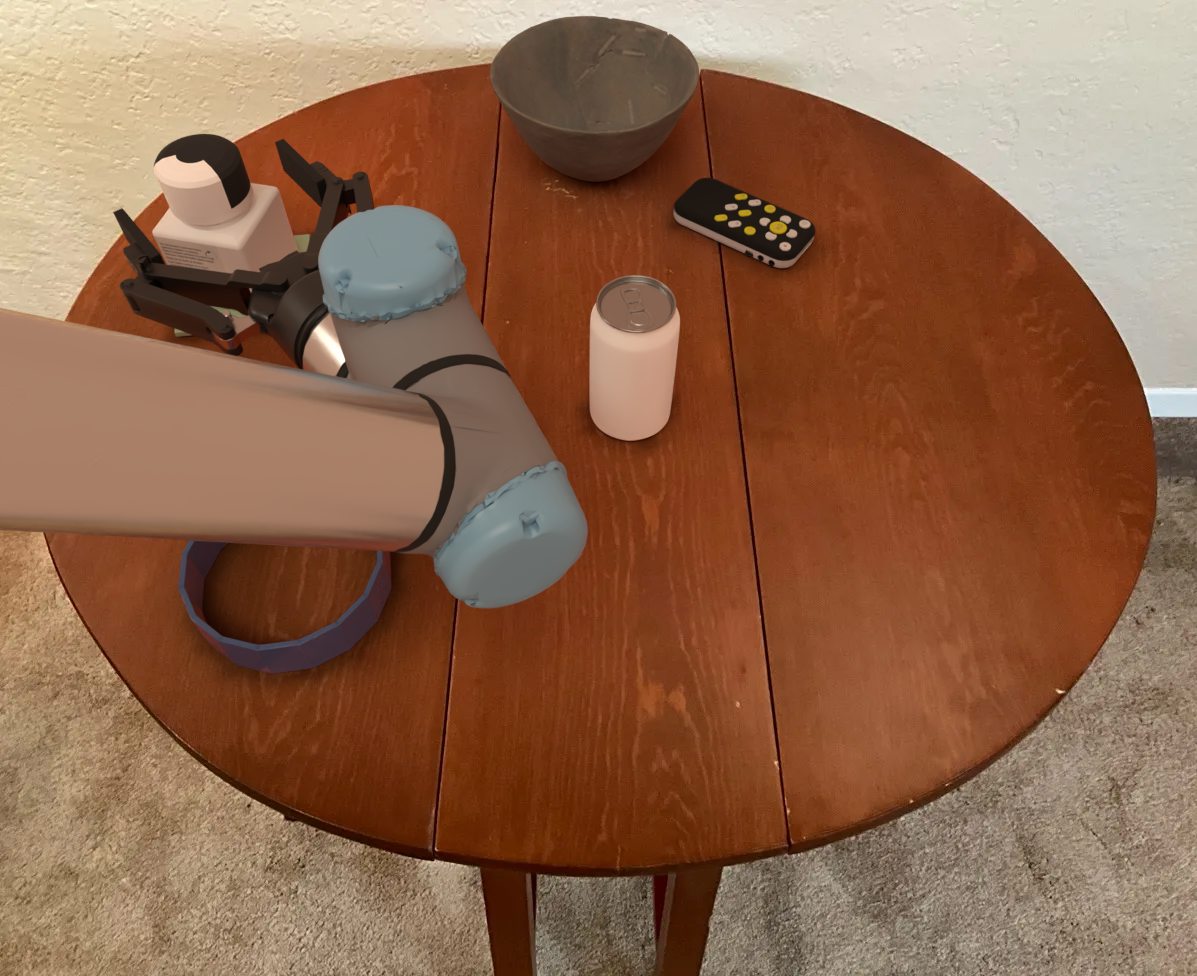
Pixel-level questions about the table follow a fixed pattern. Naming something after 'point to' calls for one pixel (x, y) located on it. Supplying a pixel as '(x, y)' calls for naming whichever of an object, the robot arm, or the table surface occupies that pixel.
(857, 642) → the table surface
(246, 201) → the container
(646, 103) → the bowl
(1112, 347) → the table surface
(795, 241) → the remote control
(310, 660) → the ring
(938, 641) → the table surface
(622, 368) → the can
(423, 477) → the robot arm
